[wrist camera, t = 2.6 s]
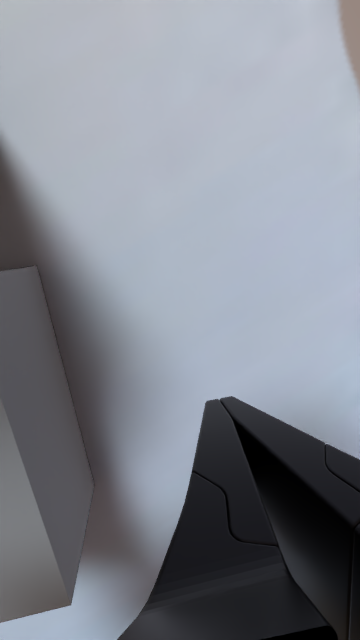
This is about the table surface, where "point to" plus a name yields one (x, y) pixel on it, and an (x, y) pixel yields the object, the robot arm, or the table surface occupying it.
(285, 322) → the table surface
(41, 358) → the socket block
